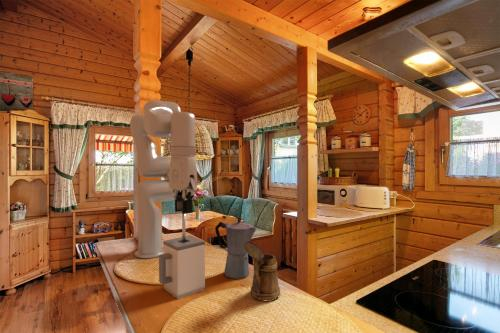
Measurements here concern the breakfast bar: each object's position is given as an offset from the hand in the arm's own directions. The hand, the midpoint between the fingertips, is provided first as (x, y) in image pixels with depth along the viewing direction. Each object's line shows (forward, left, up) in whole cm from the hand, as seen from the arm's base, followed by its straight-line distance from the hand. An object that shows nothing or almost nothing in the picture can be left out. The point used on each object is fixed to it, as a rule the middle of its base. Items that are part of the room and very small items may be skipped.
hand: (183, 211), depth 87 cm
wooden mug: (+20, +14, -24) cm, 35 cm away
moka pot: (+2, +19, -24) cm, 31 cm away
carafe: (0, -1, -24) cm, 24 cm away
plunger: (0, 0, -13) cm, 13 cm away
